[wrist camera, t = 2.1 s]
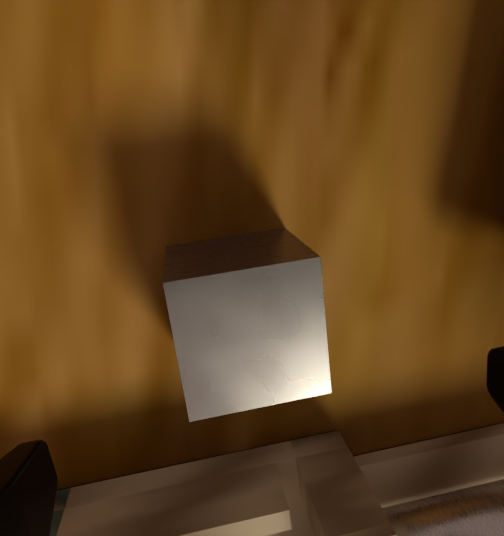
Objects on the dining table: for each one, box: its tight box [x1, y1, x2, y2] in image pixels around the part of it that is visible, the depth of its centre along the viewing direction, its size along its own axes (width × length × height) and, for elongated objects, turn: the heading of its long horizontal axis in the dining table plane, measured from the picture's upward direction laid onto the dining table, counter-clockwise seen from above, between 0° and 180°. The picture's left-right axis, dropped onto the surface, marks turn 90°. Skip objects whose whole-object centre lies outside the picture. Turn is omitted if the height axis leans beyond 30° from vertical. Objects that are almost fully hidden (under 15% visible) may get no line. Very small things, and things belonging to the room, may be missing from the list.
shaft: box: [382, 479, 504, 536], centre depth 17 cm, size 12×4×4 cm, turn 97°
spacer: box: [163, 228, 331, 422], centre depth 14 cm, size 4×4×4 cm
